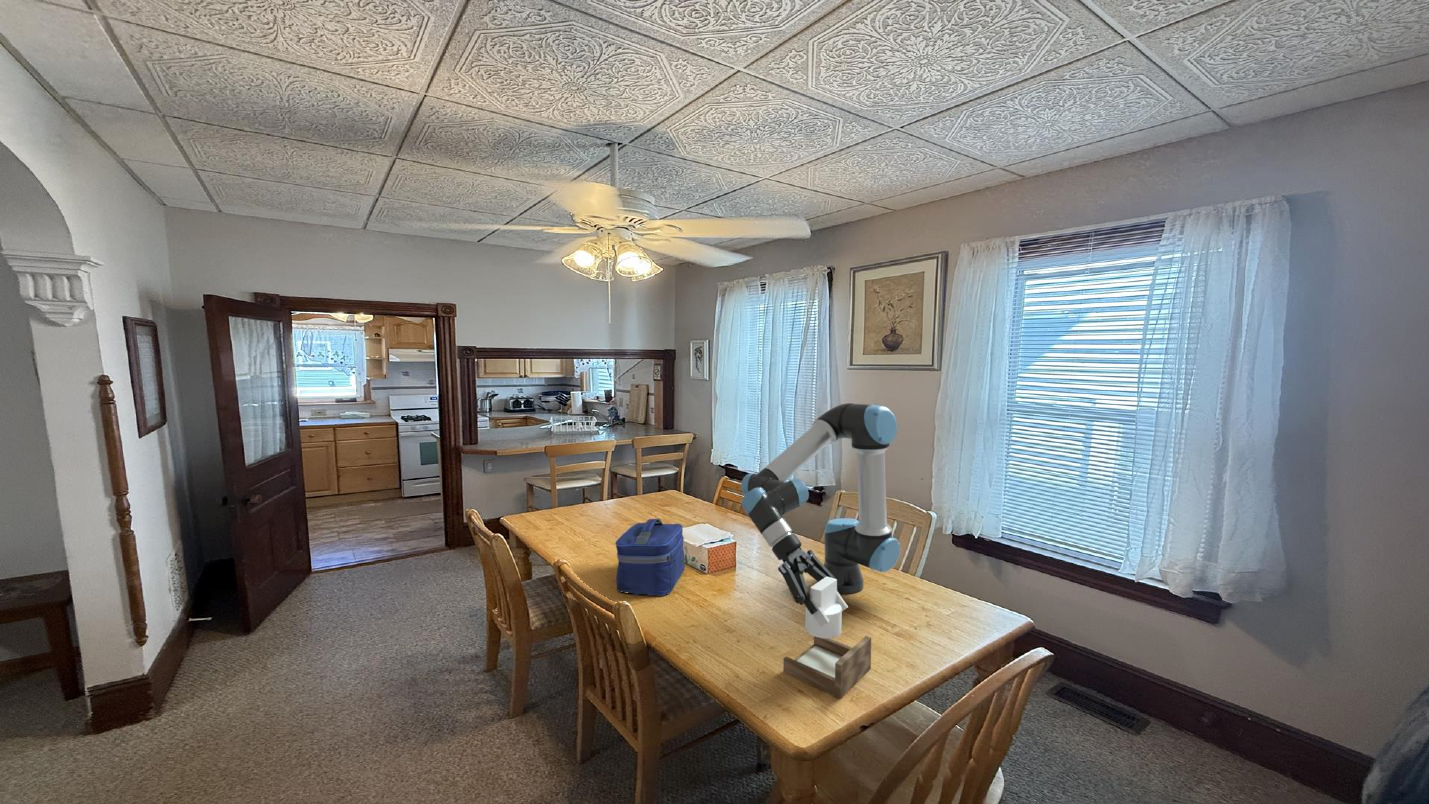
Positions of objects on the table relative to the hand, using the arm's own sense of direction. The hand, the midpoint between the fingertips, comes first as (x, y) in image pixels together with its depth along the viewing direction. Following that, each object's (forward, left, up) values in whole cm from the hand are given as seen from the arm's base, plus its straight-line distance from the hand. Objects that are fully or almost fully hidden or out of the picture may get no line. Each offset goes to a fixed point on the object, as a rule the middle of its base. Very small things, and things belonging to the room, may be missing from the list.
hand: (834, 616), depth 130 cm
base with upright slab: (0, -3, -4) cm, 6 cm away
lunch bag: (-9, -78, -15) cm, 80 cm away
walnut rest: (0, -2, -15) cm, 15 cm away
